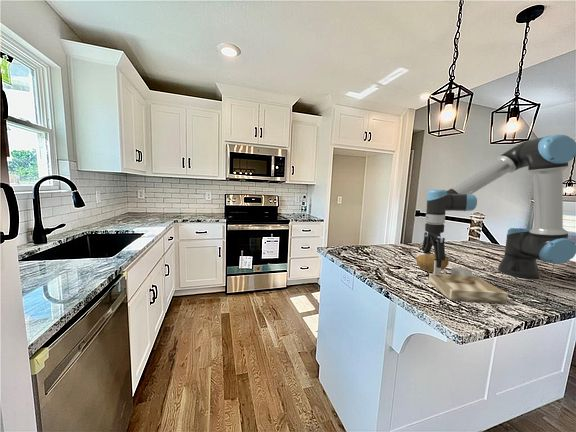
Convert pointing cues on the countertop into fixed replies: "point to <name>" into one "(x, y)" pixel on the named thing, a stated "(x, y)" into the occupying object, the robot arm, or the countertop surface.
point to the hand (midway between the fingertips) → (431, 270)
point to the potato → (429, 262)
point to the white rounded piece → (460, 271)
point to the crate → (467, 288)
